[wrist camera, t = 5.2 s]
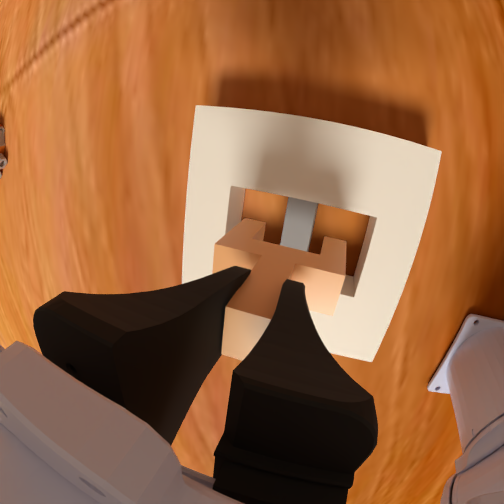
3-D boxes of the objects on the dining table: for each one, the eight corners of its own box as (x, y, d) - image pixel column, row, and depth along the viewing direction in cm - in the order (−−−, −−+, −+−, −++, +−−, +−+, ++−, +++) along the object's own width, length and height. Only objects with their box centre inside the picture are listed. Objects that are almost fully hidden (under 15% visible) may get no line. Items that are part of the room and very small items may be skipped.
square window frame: (427, 150, 16) (441, 151, 13) (370, 336, 21) (371, 361, 18) (216, 109, 19) (196, 105, 16) (199, 291, 24) (181, 309, 21)
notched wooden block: (346, 241, 15) (341, 337, 8) (337, 274, 16) (322, 382, 9) (245, 217, 16) (164, 287, 9) (240, 251, 17) (166, 334, 10)
